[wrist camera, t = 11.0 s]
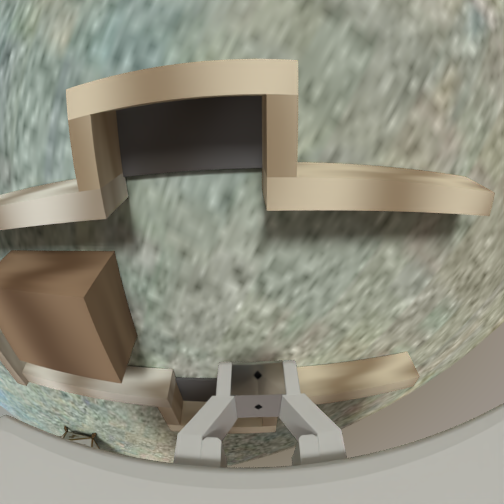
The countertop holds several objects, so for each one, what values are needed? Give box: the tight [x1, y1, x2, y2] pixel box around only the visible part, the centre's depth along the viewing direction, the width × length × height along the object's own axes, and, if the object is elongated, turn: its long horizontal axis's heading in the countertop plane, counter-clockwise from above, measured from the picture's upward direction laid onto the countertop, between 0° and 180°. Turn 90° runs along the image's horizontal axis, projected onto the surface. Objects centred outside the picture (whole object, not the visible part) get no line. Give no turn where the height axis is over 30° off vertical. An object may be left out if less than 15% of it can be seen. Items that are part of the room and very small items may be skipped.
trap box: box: [0, 59, 495, 433], centre depth 14 cm, size 31×22×3 cm
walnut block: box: [0, 250, 137, 384], centre depth 13 cm, size 8×6×4 cm
